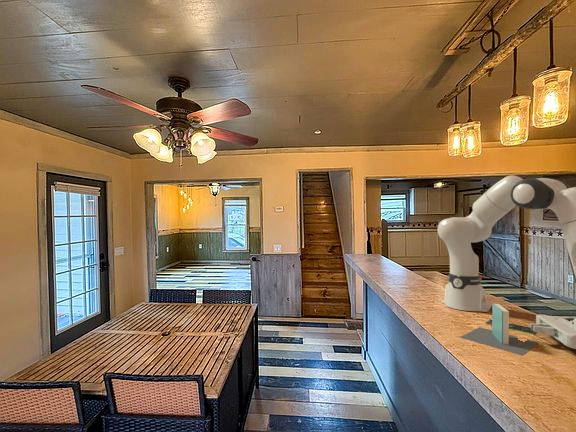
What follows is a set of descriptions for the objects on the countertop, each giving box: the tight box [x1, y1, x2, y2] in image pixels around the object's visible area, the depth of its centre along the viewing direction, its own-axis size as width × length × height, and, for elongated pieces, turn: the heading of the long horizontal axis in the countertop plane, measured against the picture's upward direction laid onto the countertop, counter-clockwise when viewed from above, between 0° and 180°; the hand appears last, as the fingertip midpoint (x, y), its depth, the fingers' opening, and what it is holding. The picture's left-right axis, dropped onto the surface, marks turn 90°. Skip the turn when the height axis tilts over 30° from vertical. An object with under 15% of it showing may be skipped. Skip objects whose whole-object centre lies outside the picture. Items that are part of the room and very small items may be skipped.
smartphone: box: [485, 319, 538, 335], centre depth 114 cm, size 8×1×15 cm
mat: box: [459, 326, 540, 356], centre depth 101 cm, size 16×17×1 cm
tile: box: [491, 303, 510, 345], centre depth 102 cm, size 2×9×10 cm, turn 163°
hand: (532, 327), depth 99 cm, fingers closed
